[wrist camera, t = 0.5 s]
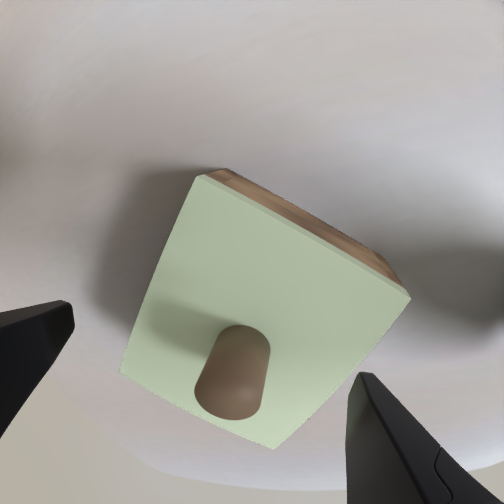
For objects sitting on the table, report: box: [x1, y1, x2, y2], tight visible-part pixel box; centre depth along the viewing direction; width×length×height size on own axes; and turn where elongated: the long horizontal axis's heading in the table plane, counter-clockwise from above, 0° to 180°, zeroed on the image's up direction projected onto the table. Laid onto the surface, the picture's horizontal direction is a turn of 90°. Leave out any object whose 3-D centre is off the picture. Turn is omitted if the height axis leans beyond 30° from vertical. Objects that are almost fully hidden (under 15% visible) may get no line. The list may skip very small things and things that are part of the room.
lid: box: [118, 174, 412, 449], centre depth 15 cm, size 12×14×5 cm
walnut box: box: [204, 169, 404, 288], centre depth 20 cm, size 12×14×5 cm
